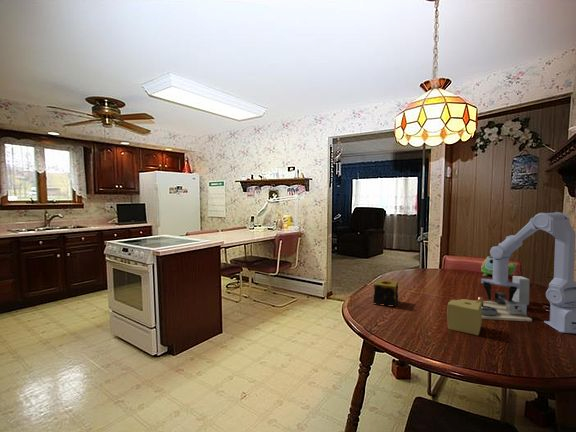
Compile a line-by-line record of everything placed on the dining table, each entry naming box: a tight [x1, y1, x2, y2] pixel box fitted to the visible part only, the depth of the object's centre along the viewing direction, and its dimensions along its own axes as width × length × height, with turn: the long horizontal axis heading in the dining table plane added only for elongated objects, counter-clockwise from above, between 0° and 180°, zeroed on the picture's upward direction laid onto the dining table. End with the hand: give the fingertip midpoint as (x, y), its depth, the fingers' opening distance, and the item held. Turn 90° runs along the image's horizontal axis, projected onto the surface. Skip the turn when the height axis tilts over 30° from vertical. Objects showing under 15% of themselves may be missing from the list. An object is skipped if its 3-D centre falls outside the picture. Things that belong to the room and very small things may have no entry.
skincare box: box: [512, 275, 530, 306], centre depth 136 cm, size 6×4×12 cm
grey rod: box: [494, 291, 509, 304], centre depth 128 cm, size 12×3×4 cm, turn 169°
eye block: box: [506, 300, 528, 316], centre depth 120 cm, size 3×6×5 cm, turn 79°
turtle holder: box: [480, 255, 517, 277], centre depth 181 cm, size 12×18×12 cm
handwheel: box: [477, 296, 497, 316], centre depth 123 cm, size 9×9×5 cm
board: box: [473, 300, 533, 322], centre depth 127 cm, size 20×20×1 cm
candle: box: [372, 279, 399, 306], centre depth 139 cm, size 10×10×10 cm
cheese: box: [446, 298, 483, 336], centre depth 111 cm, size 10×11×10 cm
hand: (499, 301), depth 133 cm, fingers open, 7 cm apart
